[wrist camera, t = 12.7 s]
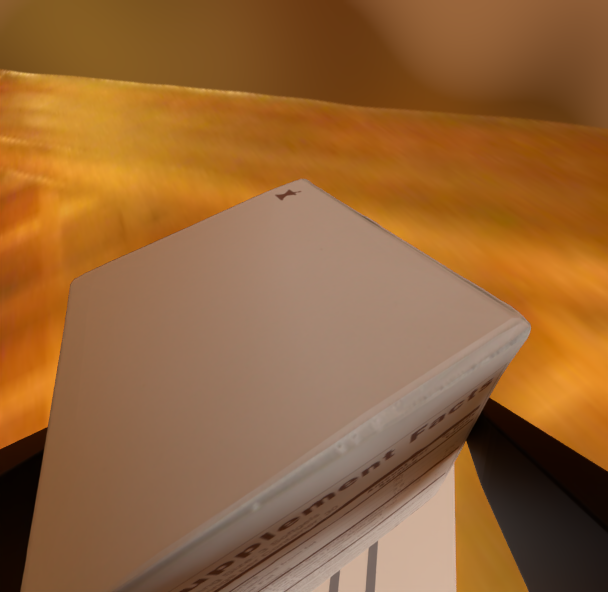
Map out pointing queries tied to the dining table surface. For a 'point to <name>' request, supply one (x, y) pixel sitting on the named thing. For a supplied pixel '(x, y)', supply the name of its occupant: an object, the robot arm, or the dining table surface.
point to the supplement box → (257, 401)
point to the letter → (408, 553)
